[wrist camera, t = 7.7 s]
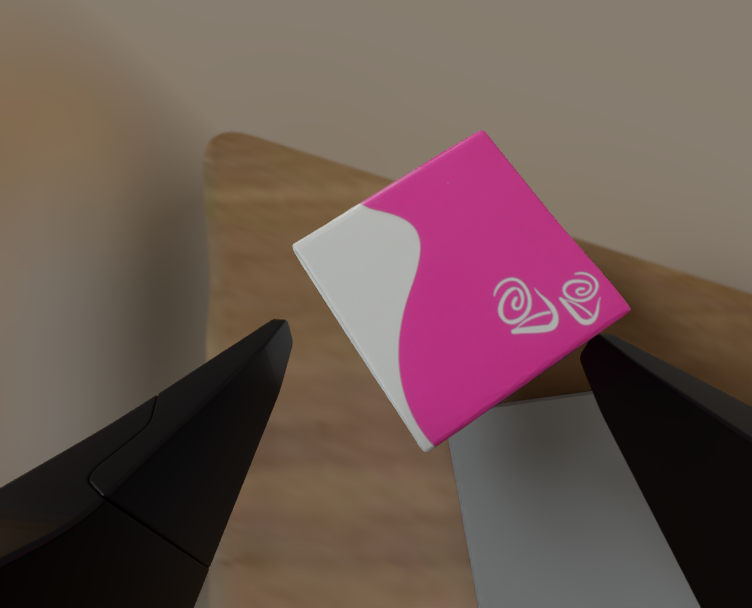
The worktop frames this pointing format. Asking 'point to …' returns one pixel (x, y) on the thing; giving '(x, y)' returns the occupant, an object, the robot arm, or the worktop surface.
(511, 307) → the supplement box
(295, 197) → the worktop surface
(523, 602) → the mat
